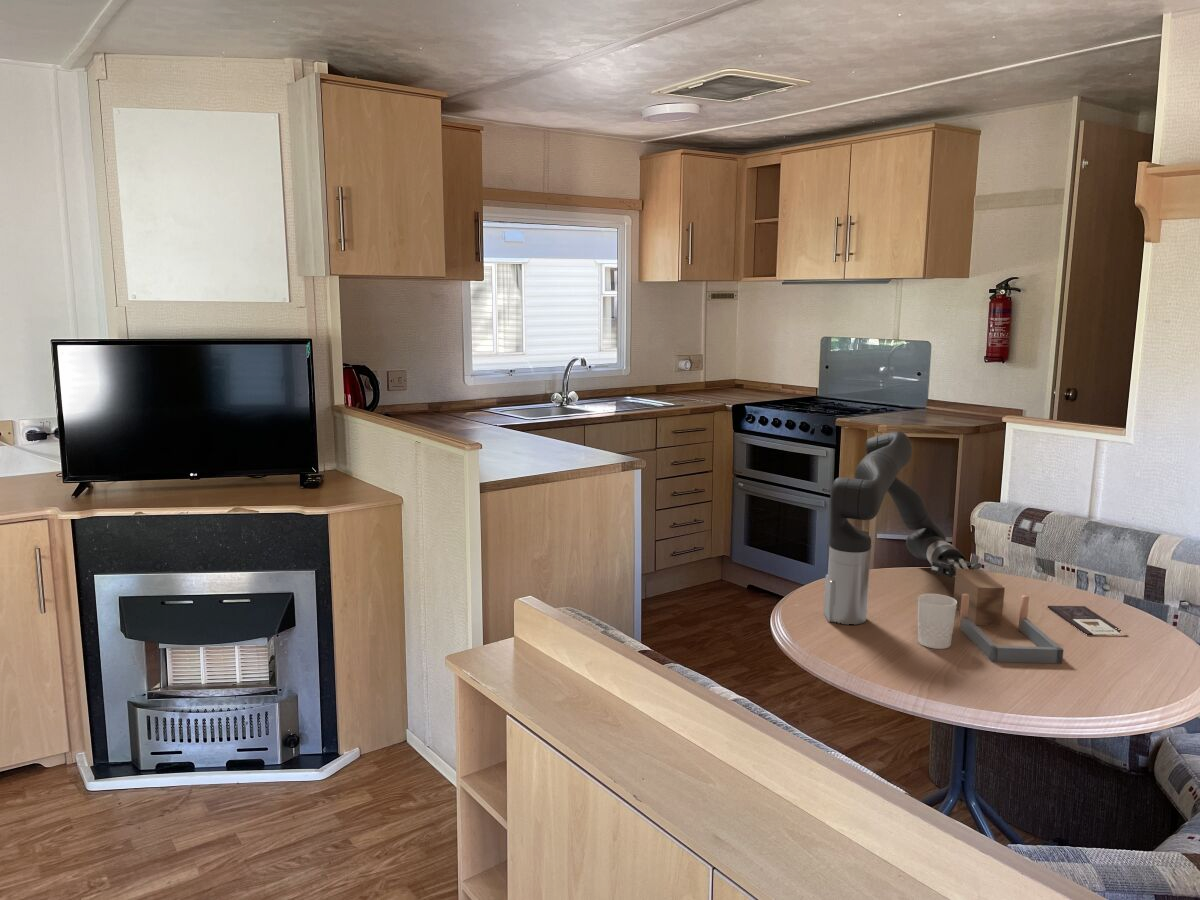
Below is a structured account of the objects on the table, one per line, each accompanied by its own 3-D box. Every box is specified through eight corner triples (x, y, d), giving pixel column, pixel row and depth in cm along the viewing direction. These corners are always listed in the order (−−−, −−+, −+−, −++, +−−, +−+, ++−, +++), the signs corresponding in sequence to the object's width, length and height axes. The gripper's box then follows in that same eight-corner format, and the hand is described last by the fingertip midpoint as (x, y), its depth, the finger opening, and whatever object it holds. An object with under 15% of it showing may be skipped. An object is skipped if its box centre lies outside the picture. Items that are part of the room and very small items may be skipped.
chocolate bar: (1084, 606, 220) (1127, 634, 202) (1084, 609, 220) (1126, 638, 202) (1047, 605, 220) (1087, 633, 202) (1047, 609, 220) (1086, 637, 202)
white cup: (947, 637, 200) (951, 594, 199) (957, 651, 193) (961, 606, 191) (911, 635, 201) (914, 592, 199) (919, 649, 193) (923, 604, 192)
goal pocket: (990, 661, 187) (993, 624, 186) (958, 626, 206) (960, 593, 205) (1063, 663, 187) (1067, 626, 185) (1024, 628, 206) (1027, 595, 204)
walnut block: (974, 624, 208) (978, 587, 206) (953, 604, 222) (956, 568, 220) (1001, 625, 208) (1004, 588, 206) (977, 604, 222) (980, 569, 220)
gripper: (920, 543, 237) (942, 563, 220) (971, 544, 237) (997, 564, 220) (918, 571, 238) (940, 592, 221) (969, 572, 238) (995, 594, 221)
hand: (968, 578), depth 221 cm, fingers closed
